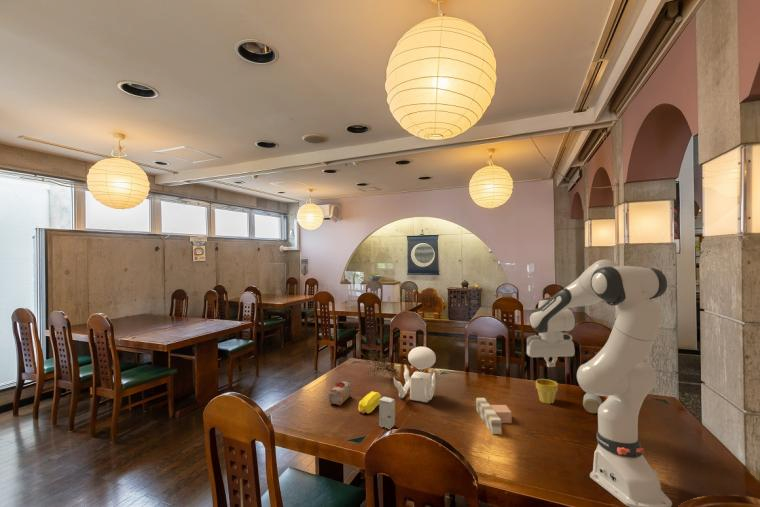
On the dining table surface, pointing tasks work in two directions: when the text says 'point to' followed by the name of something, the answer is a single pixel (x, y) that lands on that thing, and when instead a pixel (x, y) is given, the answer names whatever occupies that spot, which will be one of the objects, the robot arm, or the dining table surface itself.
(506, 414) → the peach block
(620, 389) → the robot arm
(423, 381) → the figurine
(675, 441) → the dining table surface
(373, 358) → the dried plant
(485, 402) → the white segmented block row
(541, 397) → the plant pot
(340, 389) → the food item
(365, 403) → the yellow rounded capsule
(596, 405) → the ceramic mug
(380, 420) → the skincare box
